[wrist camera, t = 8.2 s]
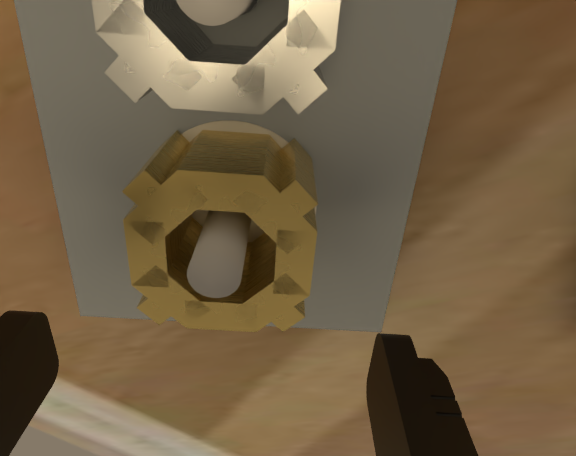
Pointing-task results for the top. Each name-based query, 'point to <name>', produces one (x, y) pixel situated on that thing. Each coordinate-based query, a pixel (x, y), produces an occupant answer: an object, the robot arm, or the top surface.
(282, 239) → the brass gear
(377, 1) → the pegboard
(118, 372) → the top surface
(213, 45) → the steel gear
